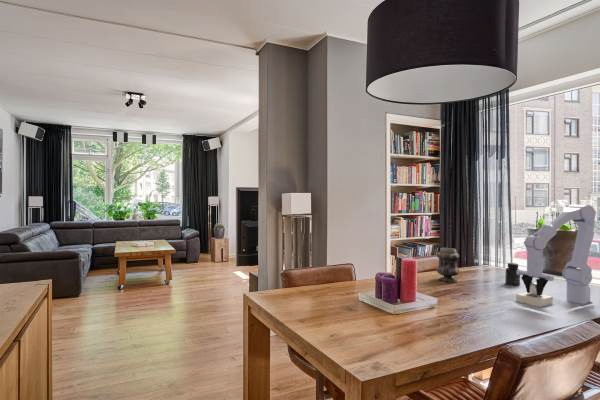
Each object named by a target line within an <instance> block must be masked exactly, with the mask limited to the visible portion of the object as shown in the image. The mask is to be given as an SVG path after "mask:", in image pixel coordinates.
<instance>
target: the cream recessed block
mask: <svg viewBox="0 0 600 400" xmlns="http://www.w3.org/2000/svg"><path fill="white" fill-rule="evenodd" d="M499 298H500V299H501V298H502V299H505V300H509V301H512V302H516V303H520V304H524V305H528V306H533V307H536V308H540V309H543V308H548V307H550V306H553V305H559V304H562V303H565V302H566V301H567V300H561V299H556V298H553V296H550V295H546V294H542V295H540V297H538V298H536V297H532V296H529V293H527V291H523V292H517V293H514V294H509V295H504V296H503V295H502V296H500V297H499Z"/></svg>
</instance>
